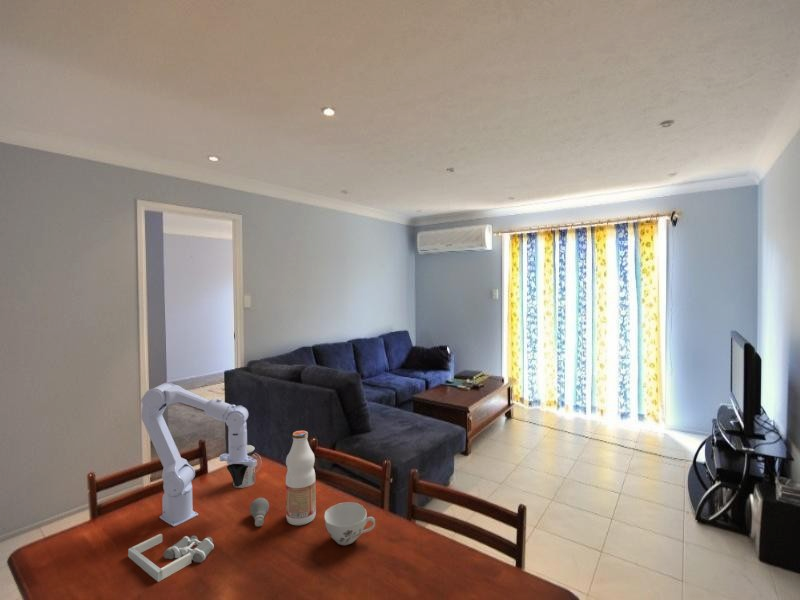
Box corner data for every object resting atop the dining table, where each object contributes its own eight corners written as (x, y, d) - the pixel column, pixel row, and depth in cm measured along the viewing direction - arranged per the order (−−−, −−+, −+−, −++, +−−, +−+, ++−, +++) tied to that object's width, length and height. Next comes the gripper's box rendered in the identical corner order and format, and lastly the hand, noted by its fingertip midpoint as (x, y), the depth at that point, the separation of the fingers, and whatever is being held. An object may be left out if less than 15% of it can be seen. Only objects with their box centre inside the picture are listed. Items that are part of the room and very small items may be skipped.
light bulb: (263, 512, 123) (263, 490, 132) (245, 523, 122) (246, 500, 131) (272, 525, 125) (272, 502, 134) (255, 535, 124) (256, 511, 133)
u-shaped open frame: (128, 557, 110) (128, 549, 110) (160, 541, 117) (160, 533, 117) (158, 582, 100) (158, 572, 100) (191, 563, 107) (191, 553, 107)
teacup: (319, 552, 111) (319, 524, 111) (329, 526, 124) (329, 501, 124) (373, 553, 111) (372, 525, 111) (377, 527, 123) (376, 502, 123)
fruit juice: (296, 530, 122) (295, 440, 122) (280, 518, 129) (279, 433, 128) (321, 517, 129) (320, 432, 129) (305, 507, 135) (304, 425, 135)
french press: (238, 478, 157) (237, 416, 157) (266, 479, 156) (265, 416, 156) (225, 490, 147) (224, 424, 147) (254, 492, 146) (254, 425, 146)
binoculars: (163, 560, 109) (163, 547, 109) (183, 542, 117) (183, 530, 117) (202, 564, 107) (202, 551, 107) (220, 546, 115) (220, 534, 115)
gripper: (211, 445, 130) (212, 486, 130) (245, 452, 124) (246, 494, 124) (228, 438, 137) (229, 477, 137) (261, 444, 131) (262, 484, 131)
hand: (238, 485), depth 131 cm, fingers closed
